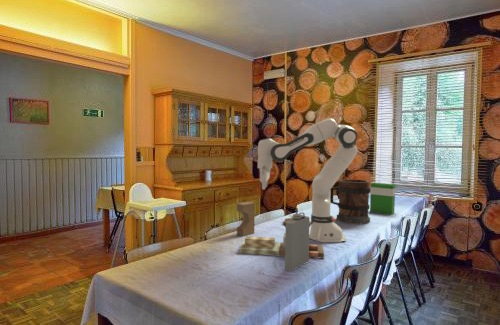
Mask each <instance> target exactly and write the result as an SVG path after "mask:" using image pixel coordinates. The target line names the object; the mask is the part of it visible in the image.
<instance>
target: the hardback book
mask: <svg viewBox="0 0 500 325" xmlns="http://www.w3.org/2000/svg"><path fill="white" fill-rule="evenodd" d="M369 198H370V201H369V212H371V213H377V214H385V215H394V214H395V202H396V201H395V200H396V199H395V198H396V184H395V183H394V184H393V183H383V182H382V183H380V182H373V183H370V195H369Z"/></svg>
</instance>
